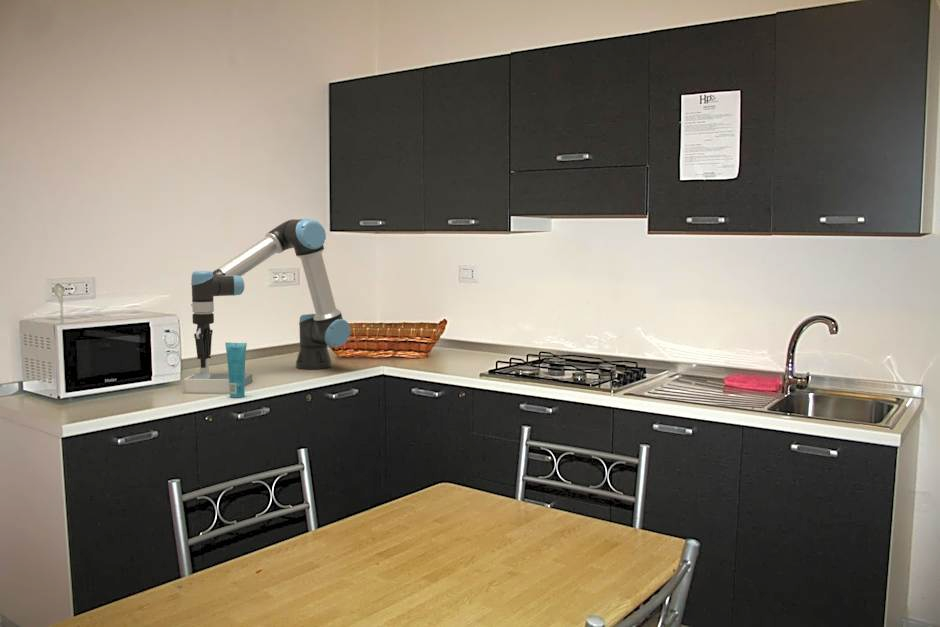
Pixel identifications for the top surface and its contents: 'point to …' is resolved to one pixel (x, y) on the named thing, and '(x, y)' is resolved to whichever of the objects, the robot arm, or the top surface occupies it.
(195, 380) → the tray
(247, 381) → the board
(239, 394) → the tube
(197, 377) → the tile
